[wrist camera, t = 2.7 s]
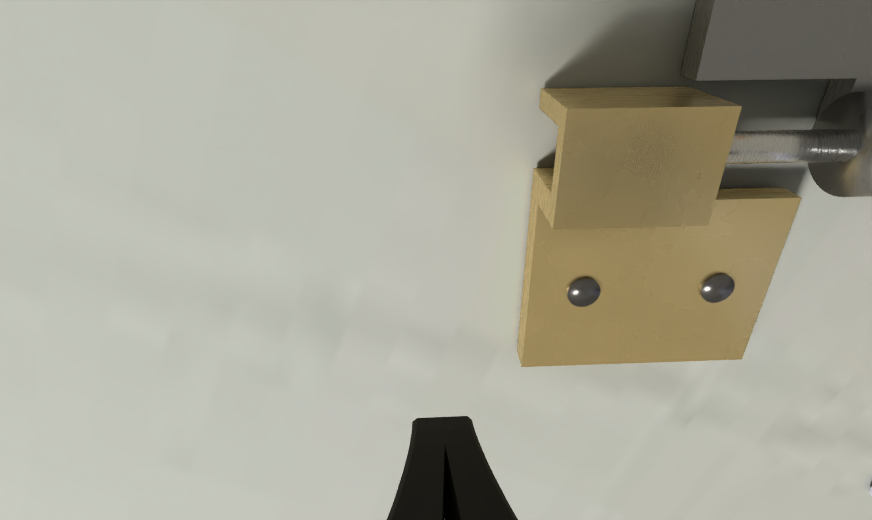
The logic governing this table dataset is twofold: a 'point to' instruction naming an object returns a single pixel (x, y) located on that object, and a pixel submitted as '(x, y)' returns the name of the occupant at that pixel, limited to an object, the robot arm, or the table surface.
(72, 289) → the table surface
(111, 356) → the table surface
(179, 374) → the table surface
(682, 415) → the table surface
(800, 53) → the fixed leaf
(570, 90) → the tan hinge plate
